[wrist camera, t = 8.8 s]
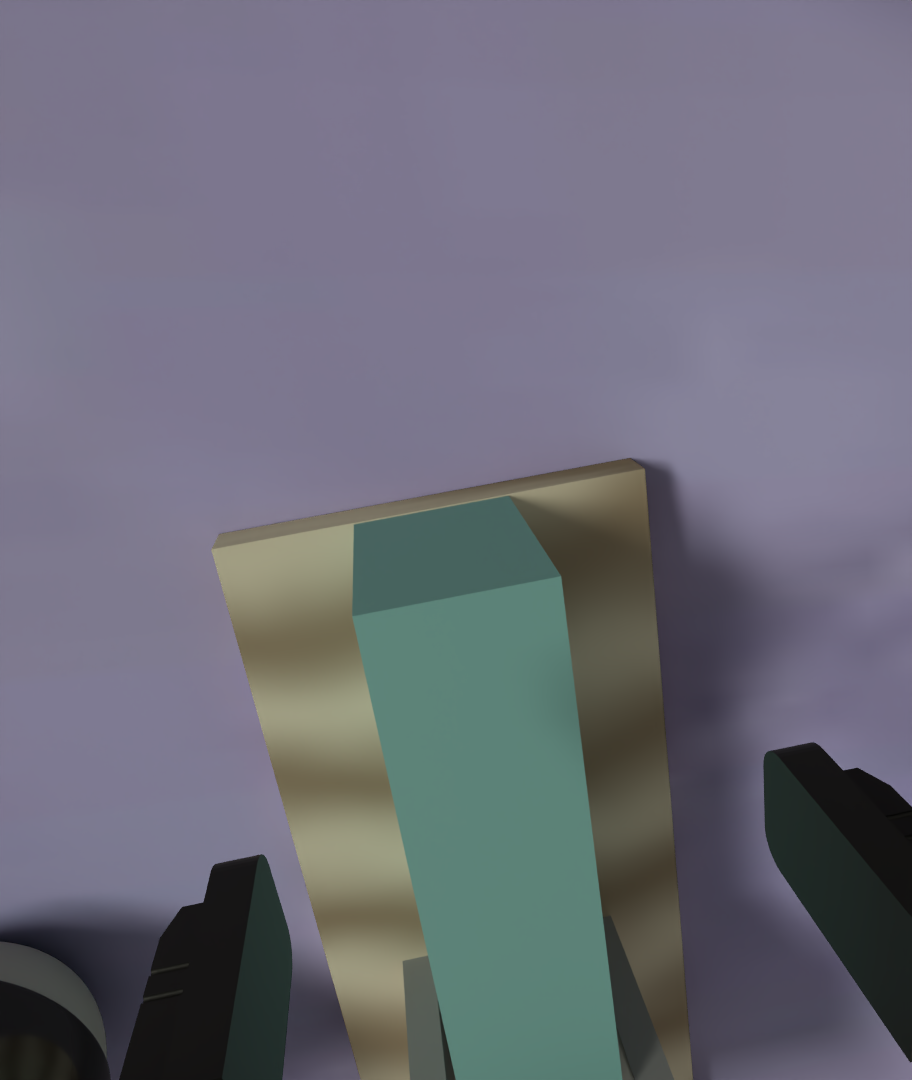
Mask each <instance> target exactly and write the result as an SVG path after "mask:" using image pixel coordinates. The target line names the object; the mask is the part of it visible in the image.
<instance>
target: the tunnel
mask: <svg viewBox="0 0 912 1080" xmlns="http://www.w3.org/2000/svg"><path fill="white" fill-rule="evenodd" d="M603 924H604V932H605V940H606V948H607V957H608V965H609V973H610V981H611V989H612V998H613V1006H614V1014H615V1022H616V1030H617V1039H618V1047H619V1055H620V1063H621V1071H622V1080H674V1077H673V1075H672V1072H671V1070H670V1067H669V1065H668V1062H667V1059H666V1057H665V1054H664V1052H663V1049H662V1047H661V1044H660V1041H659V1039H658V1036H657V1034H656V1031H655V1028H654V1026H653V1023H652V1021H651V1018H650V1016H649V1013H648V1010H647V1008H646V1005H645V1003H644V1000H643V997H642V995H641V992H640V990H639V987H638V985H637V982H636V979H635V977H634V974H633V972H632V969H631V966H630V964H629V961H628V959H627V956H626V954H625V951H624V948H623V946H622V943H621V941H620V938H619V935H618V933H617V930H616V928H615V925H614V923H613V920H612V917H611V916H606V917H603ZM402 962H403V977H404V993H405V1009H406V1025H407V1041H408V1056H409V1072H410V1080H456V1078H455V1074H454V1069H453V1065H452V1061H451V1056H450V1052H449V1047H448V1043H447V1038H446V1034H445V1029H444V1025H443V1020H442V1016H441V1011H440V1007H439V1002H438V998H437V993H436V989H435V985H434V980H433V976H432V971H431V967H430V962H429V958H428V956H423V957H418V958H414V959H409V960H405V961H402Z"/></svg>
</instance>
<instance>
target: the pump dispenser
mask: <svg viewBox="0 0 912 1080" xmlns="http://www.w3.org/2000/svg"><path fill="white" fill-rule="evenodd" d="M0 1080H111V1077H110V1070H109V1066H108V1062H107V1046H106V1035H105V1029H104V1025H103V1020H102V1017H101V1014H100V1011H99V1008H98V1006H97V1004H96V1002H95V1000H94V998H93V996H92V994H91V992H90V991H89V989H88V988H87V986H86V985H85V984H84V982H83V981H82V980H81V979H80V978H79V977H78V976H77V975H76V974H75V973H74V972H73V971H72V970H71V969H70V968H69V967H67V966H66V965H65V964H64V963H62V962H61V961H59V960H57V959H56V958H54V957H52V956H50V955H48V954H46V953H44V952H42V951H40V950H37V949H34V948H31V947H28V946H24V945H20V944H15V943H8V942H0Z"/></svg>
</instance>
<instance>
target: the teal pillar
mask: <svg viewBox="0 0 912 1080" xmlns="http://www.w3.org/2000/svg"><path fill="white" fill-rule="evenodd" d="M352 618H353V622H354V627H355V631H356V636H357V640H358V645H359V649H360V654H361V658H362V663H363V667H364V672H365V676H366V681H367V685H368V689H369V694H370V698H371V703H372V707H373V712H374V716H375V721H376V725H377V730H378V734H379V739H380V743H381V748H382V752H383V757H384V761H385V765H386V770H387V774H388V779H389V783H390V788H391V792H392V797H393V801H394V806H395V810H396V815H397V819H398V824H399V828H400V833H401V837H402V841H403V846H404V850H405V855H406V859H407V864H408V868H409V873H410V877H411V882H412V886H413V891H414V895H415V900H416V904H417V909H418V913H419V917H420V922H421V926H422V931H423V935H424V940H425V944H426V949H427V953H428V958H429V962H430V967H431V971H432V976H433V980H434V985H435V989H436V993H437V998H438V1002H439V1007H440V1011H441V1016H442V1020H443V1025H444V1029H445V1034H446V1038H447V1043H448V1047H449V1052H450V1056H451V1061H452V1065H453V1069H454V1074H455V1078H456V1080H622V1071H621V1063H620V1055H619V1047H618V1039H617V1030H616V1022H615V1014H614V1006H613V998H612V989H611V981H610V973H609V965H608V957H607V948H606V940H605V932H604V924H603V916H602V907H601V899H600V891H599V883H598V875H597V866H596V858H595V850H594V842H593V834H592V825H591V817H590V809H589V801H588V793H587V784H586V776H585V768H584V760H583V751H582V743H581V735H580V727H579V719H578V710H577V702H576V694H575V686H574V678H573V669H572V661H571V653H570V645H569V637H568V628H567V620H566V612H565V604H564V596H563V587H562V579H561V575H560V574H559V572H558V571H557V569H556V568H555V566H554V564H553V563H552V561H551V560H550V558H549V557H548V555H547V554H546V552H545V551H544V549H543V548H542V546H541V544H540V543H539V541H538V540H537V538H536V537H535V535H534V534H533V532H532V531H531V529H530V527H529V526H528V524H527V523H526V521H525V520H524V518H523V517H522V515H521V514H520V512H519V511H518V509H517V507H516V506H515V504H514V503H513V501H512V500H511V498H510V497H509V496H504V497H498V498H493V499H488V500H482V501H477V502H472V503H466V504H461V505H456V506H450V507H445V508H439V509H434V510H429V511H423V512H418V513H413V514H407V515H402V516H397V517H391V518H386V519H381V520H375V521H370V522H364V523H359V524H354V542H353V599H352Z"/></svg>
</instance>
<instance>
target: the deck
mask: <svg viewBox="0 0 912 1080" xmlns="http://www.w3.org/2000/svg"><path fill="white" fill-rule="evenodd" d="M504 496H509V497H510V498H511V500H512V501H513V503H514V504H515V506H516V507H517V509H518V511H519V512H520V514H521V515H522V517H523V518H524V520H525V521H526V523H527V524H528V526H529V527H530V529H531V531H532V532H533V534H534V535H535V537H536V538H537V540H538V541H539V543H540V544H541V546H542V548H543V549H544V551H545V552H546V554H547V555H548V557H549V558H550V560H551V561H552V563H553V564H554V566H555V568H556V569H557V571H558V572H559V574H560V575H561V579H562V587H563V596H564V604H565V612H566V620H567V628H568V637H569V645H570V653H571V661H572V669H573V678H574V686H575V694H576V702H577V710H578V719H579V727H580V735H581V743H582V751H583V760H584V768H585V776H586V784H587V793H588V801H589V809H590V817H591V825H592V834H593V842H594V850H595V858H596V866H597V875H598V883H599V891H600V899H601V907H602V916H603V917H606V916H611V917H612V920H613V923H614V925H615V928H616V930H617V933H618V935H619V938H620V941H621V943H622V946H623V948H624V951H625V954H626V956H627V959H628V961H629V964H630V966H631V969H632V972H633V974H634V977H635V979H636V982H637V985H638V987H639V990H640V992H641V995H642V997H643V1000H644V1003H645V1005H646V1008H647V1010H648V1013H649V1016H650V1018H651V1021H652V1023H653V1026H654V1028H655V1031H656V1034H657V1036H658V1039H659V1041H660V1044H661V1047H662V1049H663V1052H664V1054H665V1057H666V1059H667V1062H668V1065H669V1067H670V1070H671V1072H672V1075H673V1077H674V1080H693V1074H692V1061H691V1049H690V1036H689V1023H688V1011H687V998H686V985H685V973H684V960H683V947H682V934H681V922H680V909H679V896H678V884H677V871H676V858H675V846H674V833H673V820H672V808H671V795H670V782H669V770H668V757H667V744H666V732H665V719H664V706H663V694H662V681H661V668H660V656H659V643H658V630H657V618H656V605H655V592H654V579H653V567H652V554H651V541H650V529H649V516H648V503H647V491H646V478H645V468H643V467H642V466H640V465H639V464H638V463H636V462H635V461H633V460H632V459H631V458H627V459H622V460H617V461H611V462H606V463H601V464H595V465H590V466H584V467H579V468H574V469H568V470H563V471H557V472H552V473H547V474H541V475H536V476H530V477H525V478H520V479H514V480H509V481H503V482H498V483H493V484H487V485H482V486H476V487H471V488H466V489H460V490H455V491H450V492H444V493H439V494H433V495H428V496H423V497H417V498H412V499H406V500H401V501H396V502H390V503H385V504H379V505H374V506H369V507H363V508H358V509H352V510H347V511H342V512H336V513H331V514H325V515H320V516H315V517H309V518H304V519H299V520H293V521H288V522H282V523H277V524H272V525H266V526H261V527H255V528H250V529H245V530H239V531H234V532H228V533H223V534H219V536H218V538H217V539H216V541H215V543H214V545H213V547H212V549H211V550H212V553H213V557H214V561H215V564H216V568H217V571H218V575H219V578H220V582H221V585H222V589H223V593H224V596H225V600H226V603H227V607H228V610H229V614H230V617H231V621H232V624H233V628H234V632H235V635H236V639H237V642H238V646H239V649H240V653H241V656H242V660H243V664H244V667H245V671H246V674H247V678H248V681H249V685H250V688H251V692H252V695H253V699H254V703H255V706H256V710H257V713H258V717H259V720H260V724H261V727H262V731H263V735H264V738H265V742H266V745H267V749H268V752H269V756H270V759H271V763H272V766H273V770H274V774H275V777H276V781H277V784H278V788H279V791H280V795H281V798H282V802H283V806H284V809H285V813H286V816H287V820H288V823H289V827H290V830H291V834H292V837H293V841H294V845H295V848H296V852H297V855H298V859H299V862H300V866H301V869H302V873H303V877H304V880H305V884H306V887H307V891H308V894H309V898H310V901H311V905H312V908H313V912H314V916H315V919H316V923H317V926H318V930H319V933H320V937H321V940H322V944H323V948H324V951H325V955H326V958H327V962H328V965H329V969H330V972H331V976H332V979H333V983H334V987H335V990H336V994H337V997H338V1001H339V1004H340V1008H341V1011H342V1015H343V1019H344V1022H345V1026H346V1029H347V1033H348V1036H349V1040H350V1043H351V1047H352V1050H353V1054H354V1058H355V1061H356V1065H357V1068H358V1072H359V1075H360V1079H361V1080H410V1072H409V1056H408V1041H407V1025H406V1009H405V993H404V977H403V962H402V961H405V960H409V959H414V958H418V957H423V956H428V953H427V949H426V944H425V940H424V935H423V931H422V926H421V922H420V917H419V913H418V909H417V904H416V900H415V895H414V891H413V886H412V882H411V877H410V873H409V868H408V864H407V859H406V855H405V850H404V846H403V841H402V837H401V833H400V828H399V824H398V819H397V815H396V810H395V806H394V801H393V797H392V792H391V788H390V783H389V779H388V774H387V770H386V765H385V761H384V757H383V752H382V748H381V743H380V739H379V734H378V730H377V725H376V721H375V716H374V712H373V707H372V703H371V698H370V694H369V689H368V685H367V681H366V676H365V672H364V667H363V663H362V658H361V654H360V649H359V645H358V640H357V636H356V631H355V627H354V622H353V618H352V599H353V542H354V524H359V523H364V522H370V521H375V520H381V519H386V518H391V517H397V516H402V515H407V514H413V513H418V512H423V511H429V510H434V509H439V508H445V507H450V506H456V505H461V504H466V503H472V502H477V501H482V500H488V499H493V498H498V497H504Z"/></svg>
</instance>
